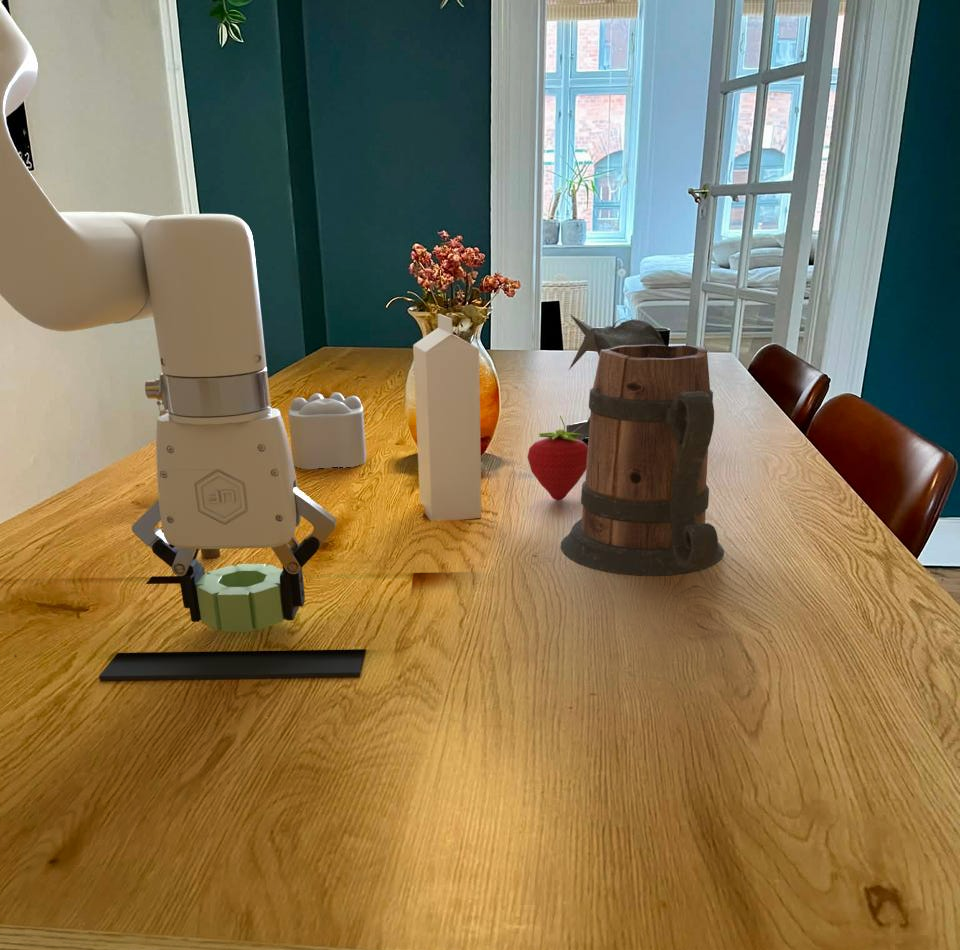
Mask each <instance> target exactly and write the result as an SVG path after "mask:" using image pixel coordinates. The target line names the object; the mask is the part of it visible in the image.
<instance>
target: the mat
mask: <svg viewBox="0 0 960 950" xmlns="http://www.w3.org/2000/svg"><path fill="white" fill-rule="evenodd" d="M366 653H367V649H366V648H357V649H355V648H354V649H351V648H350V649H289V650H287V649H286V650H285V649H284V650H279V649H278V650H217V651H216V650H215V651H214V650H211V651H210V650H209V651H151V652H150V651H149V652H148V651H145V652H144V651H143V652H139V651H138V652H117V653H116V654H115V655H114V657H112V658H111V660H110V661H109V663H108V664H107V665H106V667H105V668H104V669H103V670H102V672H101V673H100V674H99V675H98V678H99V682H101V681H103V682H104V681H165V680H166V681H167V680H168V681H169V680H170V681H171V680H172V681H173V680H176V681H177V680H232V679H233V680H238V679H241V680H242V679H243V680H244V679H301V678H302V679H307V678H309V679H311V678H318V679H319V678H360V677H361V674H362V668H363V664H364V661H365V657H366Z"/></svg>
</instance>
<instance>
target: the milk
mask: <svg viewBox="0 0 960 950" xmlns="http://www.w3.org/2000/svg"><path fill="white" fill-rule="evenodd" d="M453 331H454V330H453V319H452V318H451V317H449V316H446V315H443V314H441V313H437V328H435V329H433V330H432V331H431V332H430V333H429V334H427V335H425V336H424V337H422V338H421V339H420V340H418V341H417V342H415V343H414V344H413V345H412V348H413V349H412V350H413V352H412V353H413V374H414V375H413V376H414V395H415V396H414V397H415V419H416V421H415V423H416V440H417V441H416V445H417V468H418V470H417V471H418V490H419V494H418V495H419V504H421V505H422V506H423V514H424V515H425V516H426V517H427V519H428V520H429V521H430V522H433V521H434V522H435V521H439V522H441V521H443V522H444V521H465V520H472V519H473V520H474V519H482V513H483V512H482V453H481V447H482V446H481V445H482V443H481V386H480V385H481V384H480V383H481V381H480V380H481V377H480V348H479V347H477V346H475V345H473V344H471V343H469V342H468V341H466V340H465V339H462V338H461V337H459V336H457V335H456V334H454V333H453Z"/></svg>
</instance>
